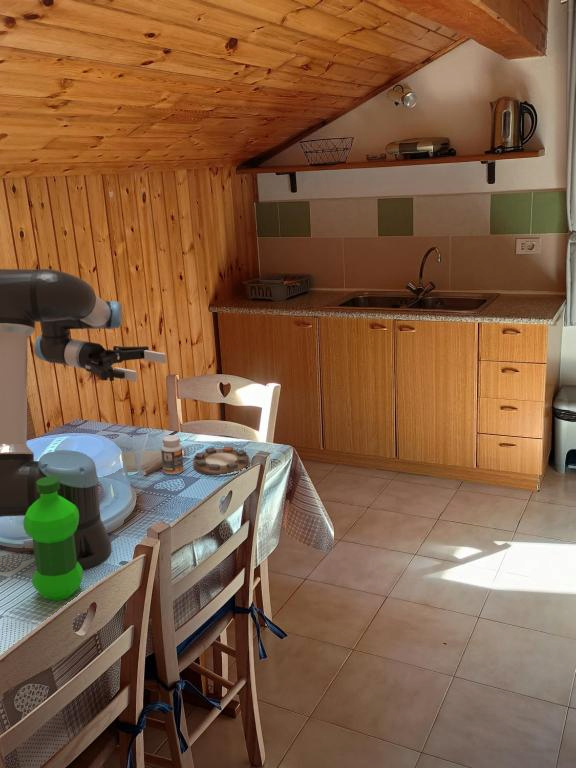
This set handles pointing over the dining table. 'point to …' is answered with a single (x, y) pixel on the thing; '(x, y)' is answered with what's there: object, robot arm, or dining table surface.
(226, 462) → the sprocket plate
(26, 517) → the plastic bottle
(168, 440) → the pill bottle
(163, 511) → the dining table surface
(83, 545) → the robot arm
